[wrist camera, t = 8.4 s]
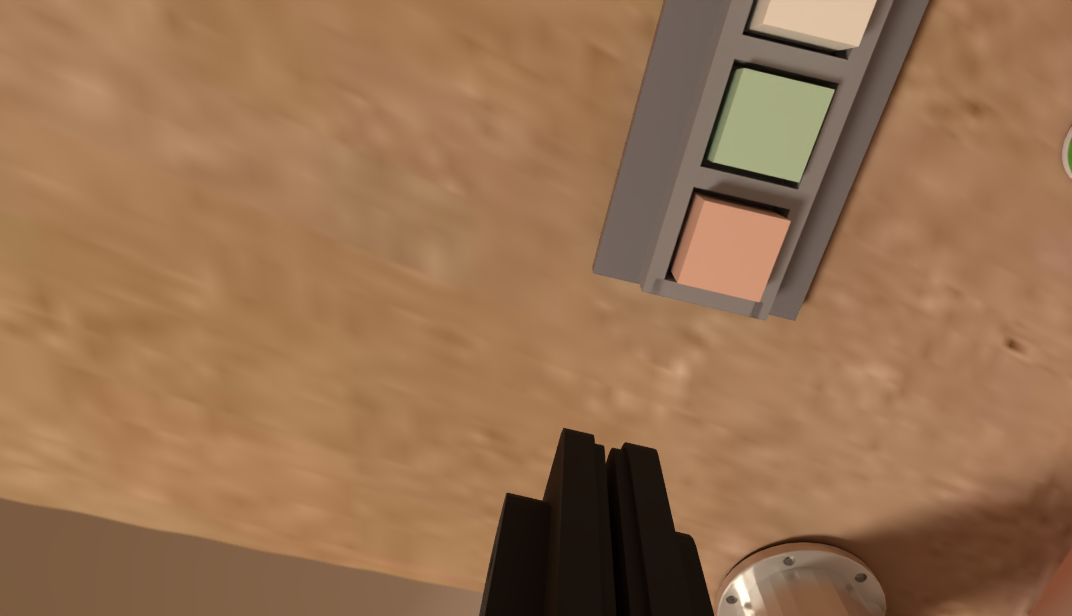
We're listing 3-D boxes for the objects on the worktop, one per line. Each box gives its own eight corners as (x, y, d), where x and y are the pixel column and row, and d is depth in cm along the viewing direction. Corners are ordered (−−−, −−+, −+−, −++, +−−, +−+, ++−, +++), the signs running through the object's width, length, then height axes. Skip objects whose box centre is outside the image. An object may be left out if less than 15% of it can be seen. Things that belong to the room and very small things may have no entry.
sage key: (809, 90, 31) (834, 89, 28) (779, 175, 32) (799, 182, 29) (727, 71, 31) (743, 67, 28) (700, 156, 32) (713, 162, 29)
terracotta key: (771, 209, 32) (790, 221, 29) (743, 284, 34) (759, 302, 31) (692, 191, 32) (704, 200, 29) (668, 267, 34) (677, 283, 31)
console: (937, -56, 29) (990, -79, 26) (787, 312, 37) (810, 336, 33) (694, -114, 29) (711, -146, 25) (592, 266, 37) (593, 285, 33)
